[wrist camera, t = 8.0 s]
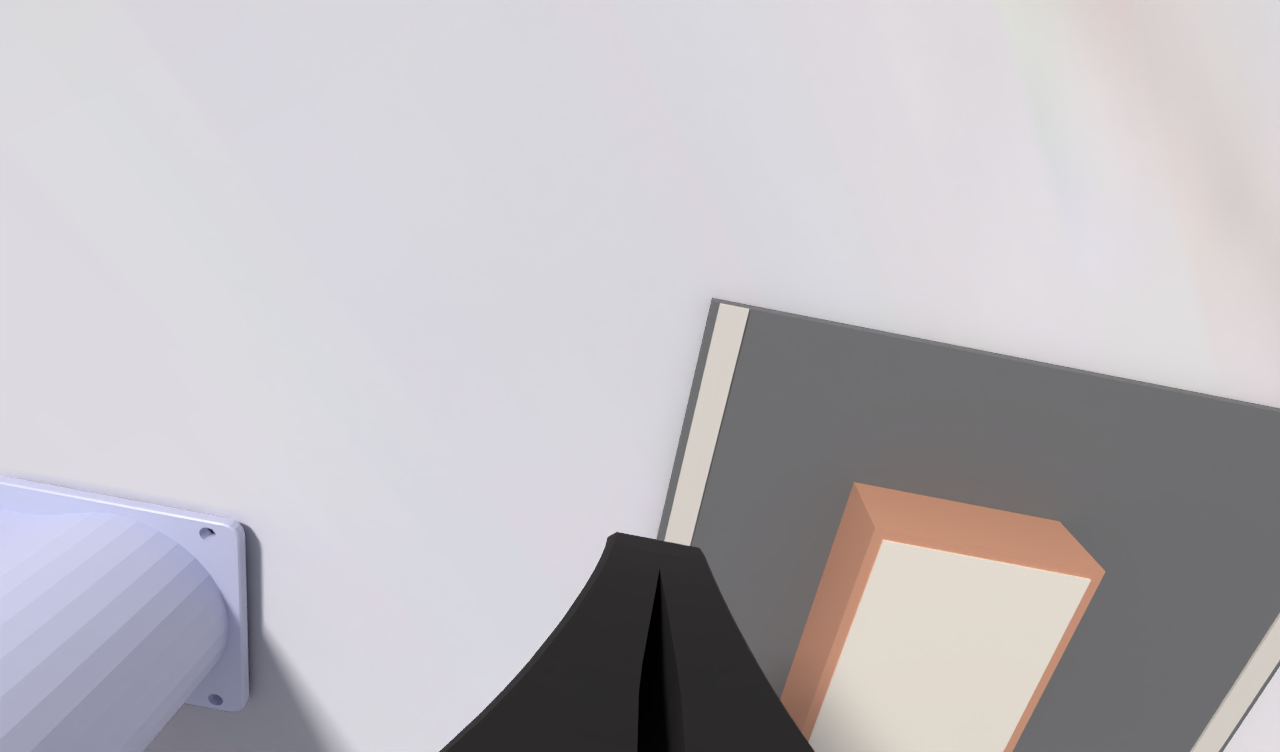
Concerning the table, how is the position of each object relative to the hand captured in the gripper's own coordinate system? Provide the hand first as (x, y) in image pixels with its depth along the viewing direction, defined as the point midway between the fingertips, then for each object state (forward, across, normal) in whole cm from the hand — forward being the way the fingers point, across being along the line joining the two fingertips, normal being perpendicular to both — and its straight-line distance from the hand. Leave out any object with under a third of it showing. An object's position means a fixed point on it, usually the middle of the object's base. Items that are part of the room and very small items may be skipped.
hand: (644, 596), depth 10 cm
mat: (+10, -11, +7) cm, 17 cm away
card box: (+9, -6, +7) cm, 13 cm away
